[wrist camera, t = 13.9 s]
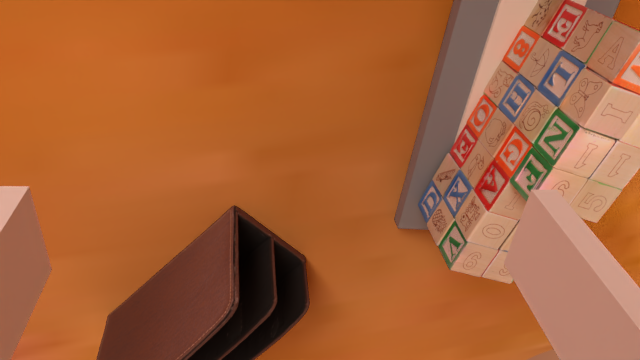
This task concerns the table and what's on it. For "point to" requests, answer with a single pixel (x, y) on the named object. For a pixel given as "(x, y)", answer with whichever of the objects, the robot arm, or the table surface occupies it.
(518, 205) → the stack of blocks
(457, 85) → the base board
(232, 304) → the letter holder
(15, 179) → the table surface
